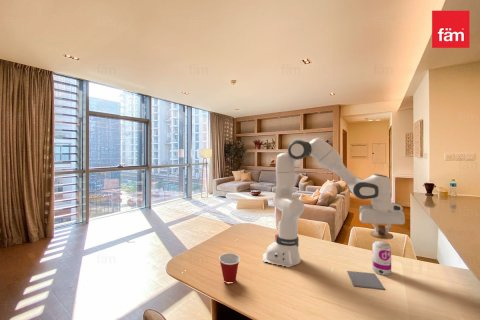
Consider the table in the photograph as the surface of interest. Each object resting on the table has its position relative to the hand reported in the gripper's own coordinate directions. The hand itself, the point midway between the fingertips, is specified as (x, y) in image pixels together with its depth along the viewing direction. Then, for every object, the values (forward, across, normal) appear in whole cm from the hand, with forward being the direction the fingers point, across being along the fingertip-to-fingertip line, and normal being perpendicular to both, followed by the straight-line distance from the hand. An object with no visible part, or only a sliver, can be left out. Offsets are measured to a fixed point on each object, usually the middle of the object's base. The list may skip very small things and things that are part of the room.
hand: (381, 231), depth 113 cm
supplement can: (+22, 0, 0) cm, 22 cm away
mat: (+21, -11, -10) cm, 26 cm away
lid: (+2, 0, 0) cm, 2 cm away
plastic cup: (+21, -76, -24) cm, 83 cm away
